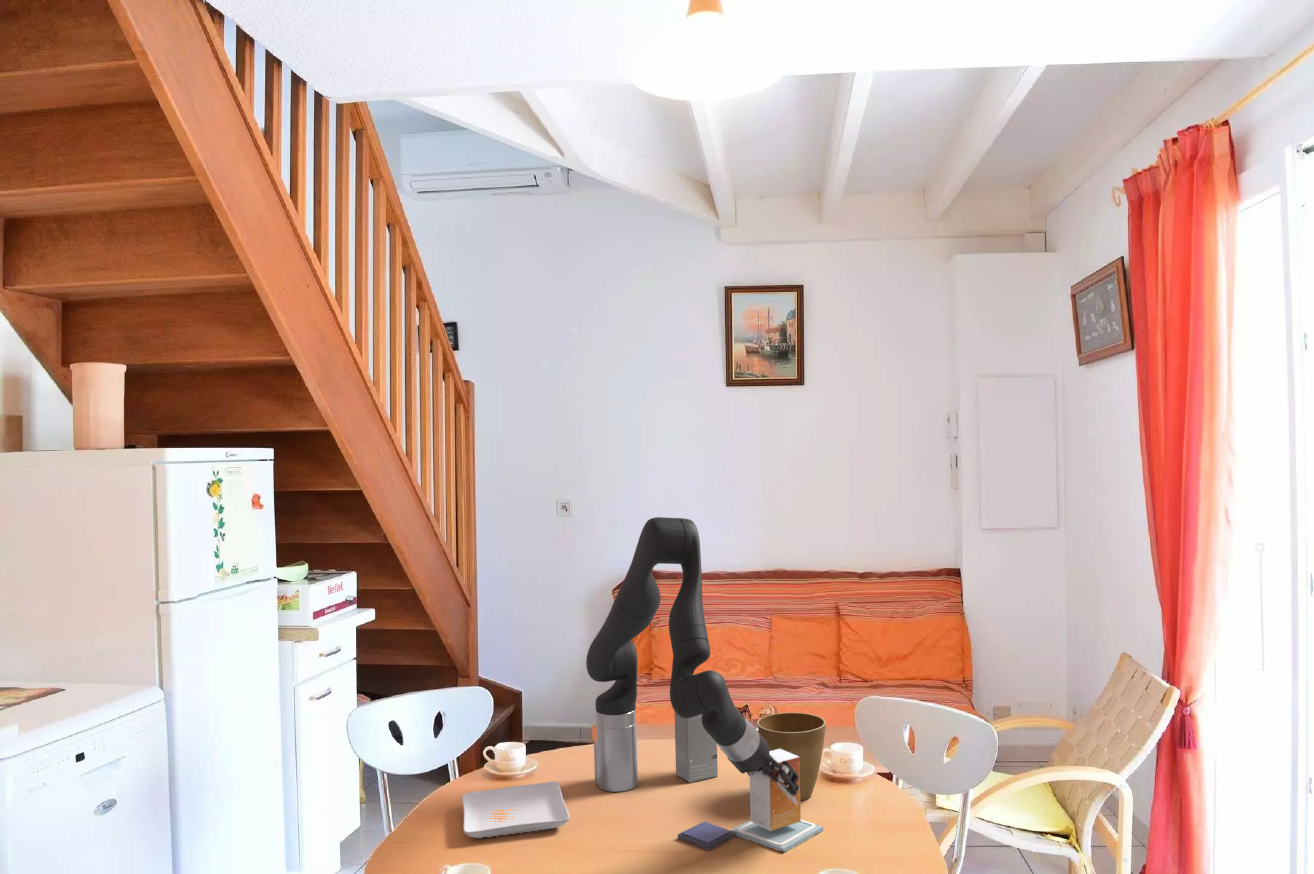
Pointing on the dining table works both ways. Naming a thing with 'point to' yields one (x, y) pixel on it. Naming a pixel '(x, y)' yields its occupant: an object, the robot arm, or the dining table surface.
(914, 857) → the dining table surface
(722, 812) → the dining table surface
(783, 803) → the small box
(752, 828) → the board
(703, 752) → the skincare box
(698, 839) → the ink pad
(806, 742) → the plant pot
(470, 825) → the salad plate
